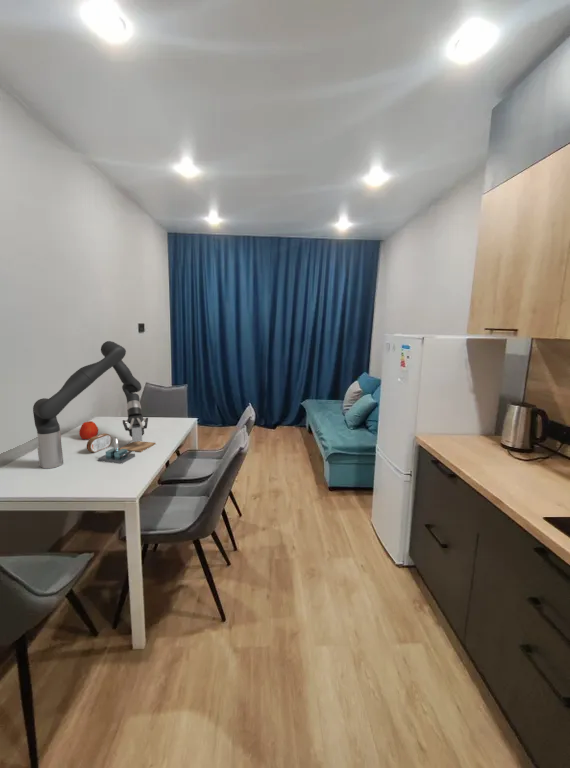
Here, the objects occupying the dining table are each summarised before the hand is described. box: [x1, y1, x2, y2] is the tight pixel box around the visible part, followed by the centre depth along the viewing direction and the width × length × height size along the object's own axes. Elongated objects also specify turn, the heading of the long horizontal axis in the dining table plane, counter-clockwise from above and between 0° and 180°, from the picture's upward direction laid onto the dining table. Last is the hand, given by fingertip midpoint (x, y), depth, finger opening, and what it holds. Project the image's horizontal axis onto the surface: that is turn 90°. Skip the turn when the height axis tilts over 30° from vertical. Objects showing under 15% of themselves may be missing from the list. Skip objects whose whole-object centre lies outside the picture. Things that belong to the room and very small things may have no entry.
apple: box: [78, 420, 99, 440], centre depth 213 cm, size 10×10×10 cm
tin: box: [86, 432, 113, 453], centre depth 193 cm, size 15×3×8 cm, turn 160°
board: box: [119, 440, 156, 453], centre depth 198 cm, size 14×14×1 cm
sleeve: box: [131, 425, 143, 442], centre depth 197 cm, size 5×5×8 cm
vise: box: [97, 437, 136, 464], centre depth 180 cm, size 14×10×11 cm
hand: (137, 435), depth 195 cm, fingers closed on sleeve, 5 cm apart
